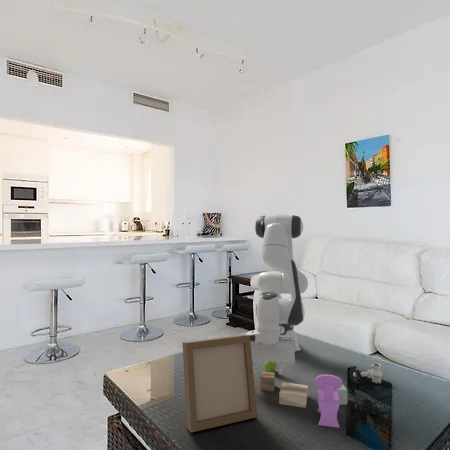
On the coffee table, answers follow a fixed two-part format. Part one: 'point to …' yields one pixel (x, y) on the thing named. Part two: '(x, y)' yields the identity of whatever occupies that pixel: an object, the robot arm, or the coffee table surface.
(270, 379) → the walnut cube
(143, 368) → the coffee table surface
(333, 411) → the toy chair
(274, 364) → the snail figurine
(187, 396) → the photo frame
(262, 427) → the coffee table surface
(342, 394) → the grey-green cube
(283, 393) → the beech block
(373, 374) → the valve
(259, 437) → the coffee table surface
